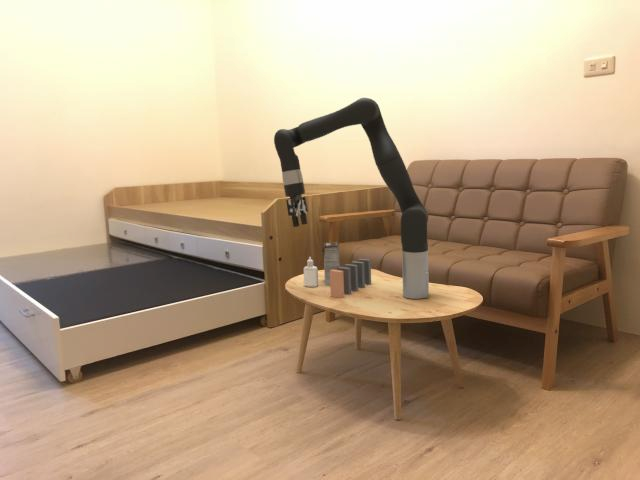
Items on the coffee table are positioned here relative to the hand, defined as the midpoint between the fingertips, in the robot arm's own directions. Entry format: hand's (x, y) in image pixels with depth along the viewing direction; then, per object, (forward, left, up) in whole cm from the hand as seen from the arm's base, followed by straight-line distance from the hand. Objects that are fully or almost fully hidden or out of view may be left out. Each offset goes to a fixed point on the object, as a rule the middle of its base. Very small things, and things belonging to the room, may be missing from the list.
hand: (300, 225), depth 201 cm
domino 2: (-16, 0, -27) cm, 31 cm away
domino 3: (-18, -4, -27) cm, 32 cm away
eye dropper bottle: (-1, -10, -27) cm, 29 cm away
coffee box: (-9, -16, -27) cm, 33 cm away
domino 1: (-13, +5, -27) cm, 30 cm away
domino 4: (-20, -9, -27) cm, 35 cm away
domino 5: (-23, -13, -27) cm, 37 cm away
